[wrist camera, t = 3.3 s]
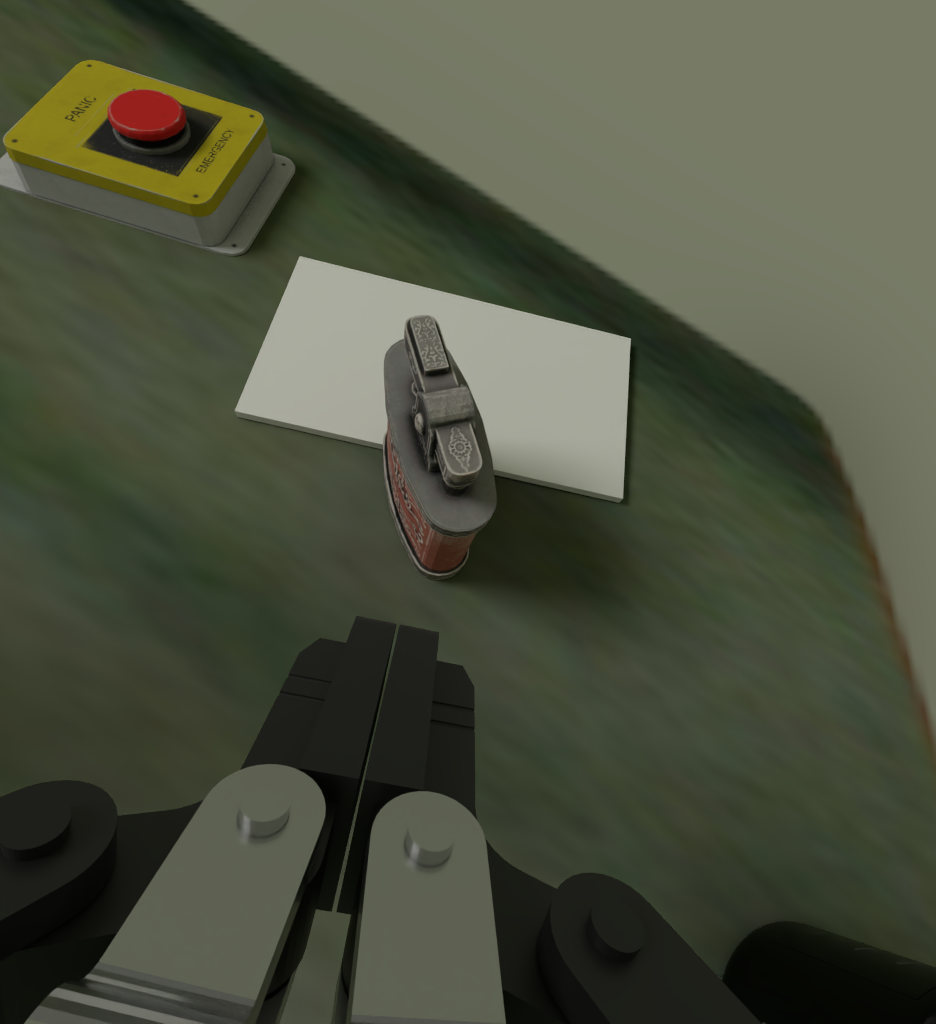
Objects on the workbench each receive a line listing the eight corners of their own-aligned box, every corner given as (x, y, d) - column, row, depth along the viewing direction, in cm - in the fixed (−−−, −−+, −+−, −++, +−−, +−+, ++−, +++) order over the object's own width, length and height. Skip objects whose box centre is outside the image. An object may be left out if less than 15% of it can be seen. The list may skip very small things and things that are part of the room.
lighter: (480, 570, 27) (533, 492, 17) (410, 587, 26) (428, 517, 17) (435, 422, 29) (461, 284, 20) (370, 434, 28) (366, 297, 19)
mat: (619, 502, 30) (623, 498, 29) (236, 416, 28) (234, 411, 28) (627, 344, 34) (630, 338, 34) (300, 263, 33) (299, 256, 32)
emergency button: (226, 199, 29) (-68, 108, 28) (243, 267, 33) (-14, 189, 32) (293, 99, 33) (38, 18, 32) (301, 171, 37) (74, 100, 36)
